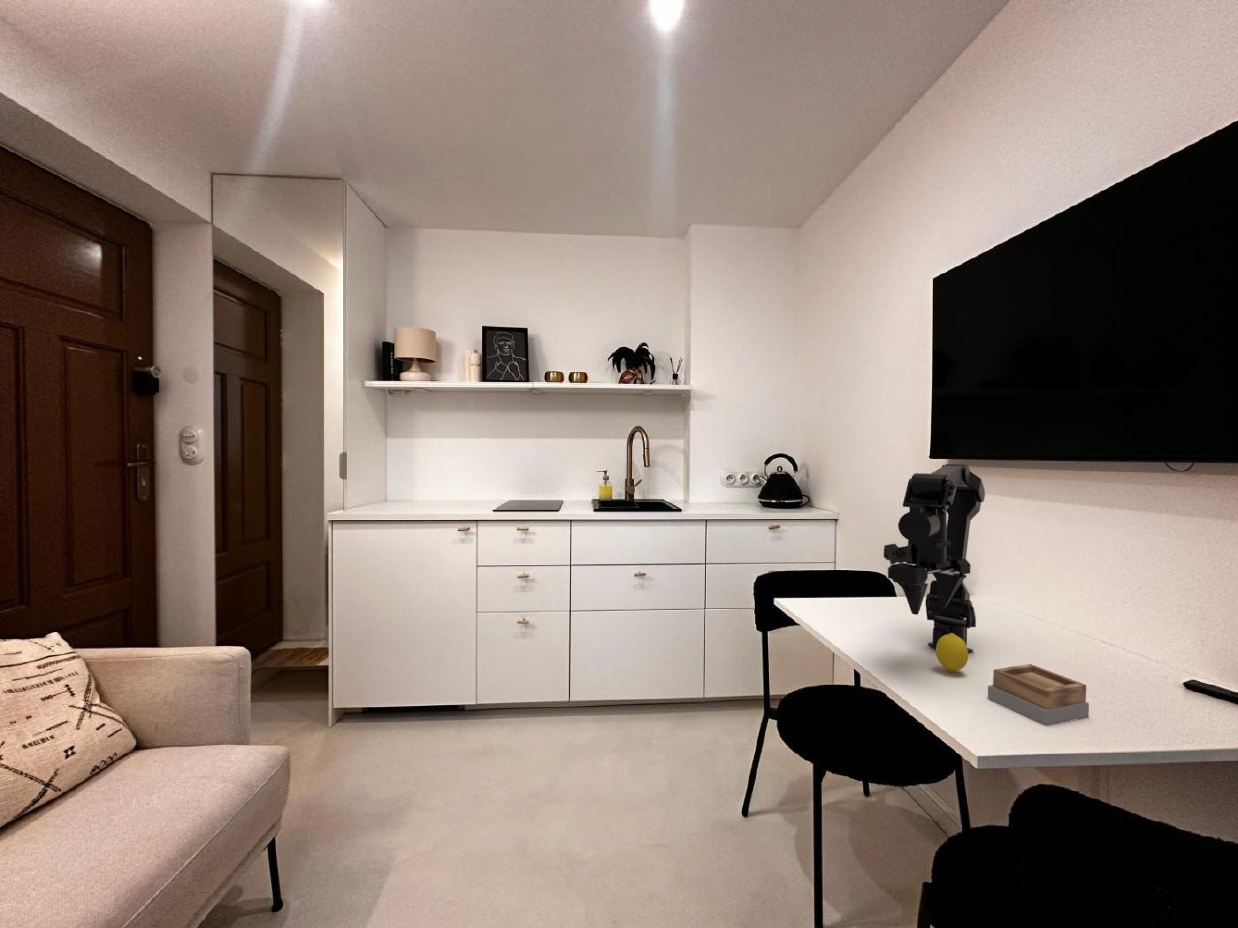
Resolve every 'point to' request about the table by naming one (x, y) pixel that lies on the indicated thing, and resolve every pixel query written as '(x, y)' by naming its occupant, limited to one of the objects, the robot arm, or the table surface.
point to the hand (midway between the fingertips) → (929, 610)
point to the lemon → (952, 652)
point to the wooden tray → (1039, 686)
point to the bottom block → (1038, 708)
